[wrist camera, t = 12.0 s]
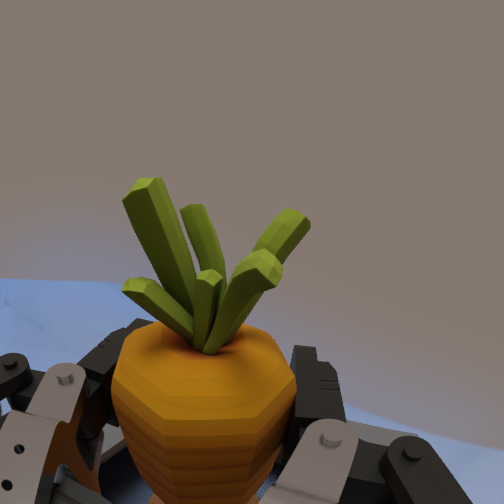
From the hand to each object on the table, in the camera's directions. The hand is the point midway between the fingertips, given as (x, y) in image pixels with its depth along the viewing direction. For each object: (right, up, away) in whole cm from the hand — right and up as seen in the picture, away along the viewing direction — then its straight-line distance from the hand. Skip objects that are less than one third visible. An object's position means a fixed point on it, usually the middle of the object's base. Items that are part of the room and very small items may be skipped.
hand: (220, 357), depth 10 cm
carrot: (-1, -9, 0) cm, 10 cm away
